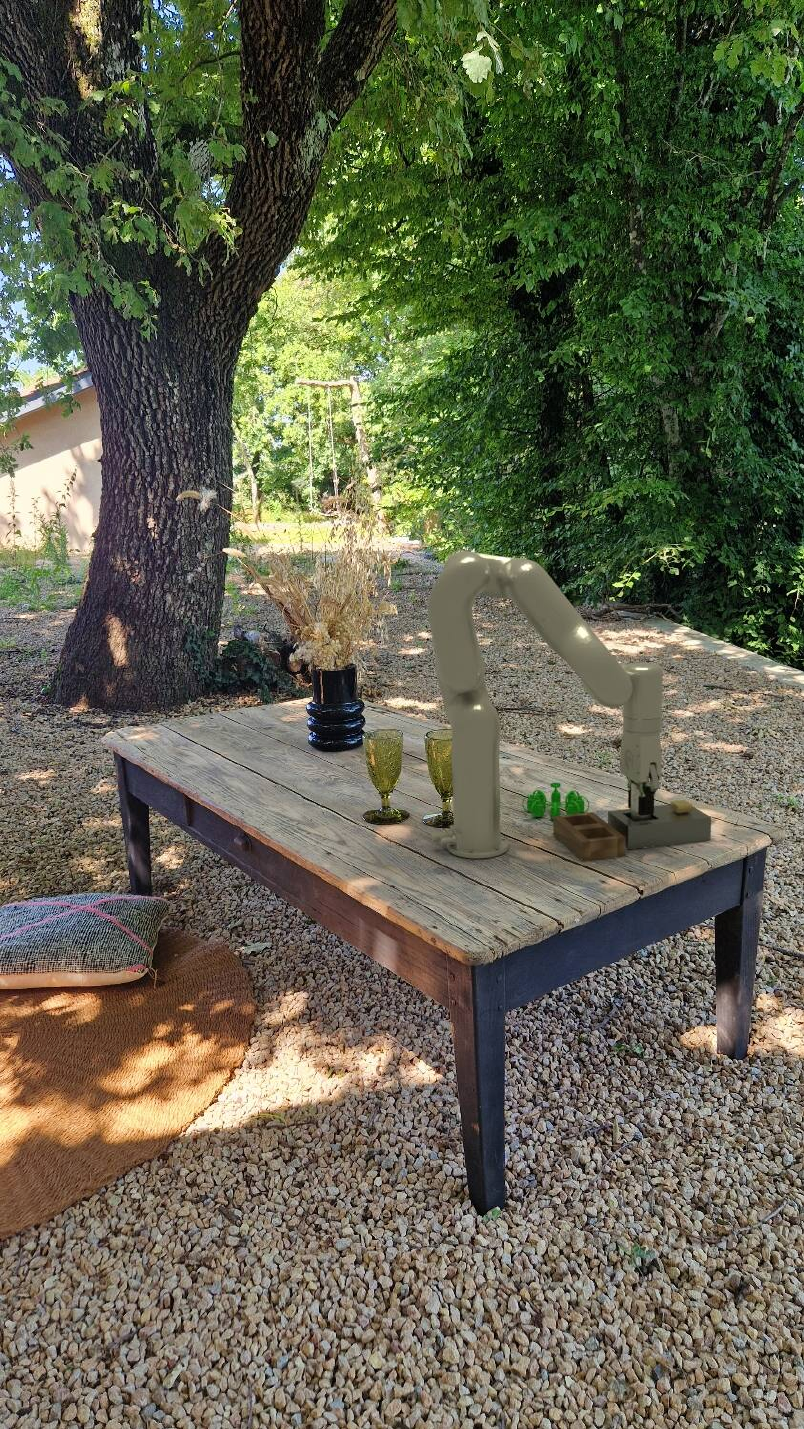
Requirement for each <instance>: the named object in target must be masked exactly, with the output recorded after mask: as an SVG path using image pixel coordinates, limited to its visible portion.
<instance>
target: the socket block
mask: <svg viewBox="0 0 804 1429" xmlns="http://www.w3.org/2000/svg"><path fill="white" fill-rule="evenodd" d="M607 823H608V824H609V825H610V826H612V827H613V828H614V829H615V830H617V831H618V832H619V833H621V834H622V835H623V836H624V837H626V839H625V847H626V848H627V849H628V850H627V849H626V848H625V849H626V850H627V851H630V850H629V849H634V850H637V849H636V848H642V849H645V848H644V847H651V848H653V847H652V846H660V847H667V846H675V845H676V846H677V845H685V844H692V843H693V844H694V843H701V842H710V841H711V836H712V835H711V834H712V817H711V816H710V815H708V814H707V813H705V812H703V811H701V810H700V809H698V808H696V807H695V806H693V805H692V812H687V813H685V814H678V813H676V812H675V811H673V810H672V809H670V804H662V805H661V804H660V805H654V814H652V815H651V820H647V821H638V822H633V821H632V820H631V808H626V809H617V810H614V809H613V810H607Z"/></svg>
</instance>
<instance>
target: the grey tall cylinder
mask: <svg viewBox="0 0 804 1429" xmlns="http://www.w3.org/2000/svg"><path fill="white" fill-rule="evenodd" d="M649 785H650V784H647V785H645V789H646V787H647V786H649ZM638 796H641V795H640V784H638V783H636V782H632V783H631V808H630V809H631V820H632V821H633V822H638V821H647V820H651V815H643V816H640V815H639V814H638Z"/></svg>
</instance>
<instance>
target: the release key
mask: <svg viewBox="0 0 804 1429" xmlns="http://www.w3.org/2000/svg"><path fill="white" fill-rule="evenodd" d="M669 805H670V809H672V810H673V811H675V812H676V813H678V814H685V813H687V812H692V806H693V804H692V803H690V802H689V801H688V800H686V799H683V800H673V801H670V803H669Z"/></svg>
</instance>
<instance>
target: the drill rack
mask: <svg viewBox="0 0 804 1429" xmlns="http://www.w3.org/2000/svg"><path fill="white" fill-rule="evenodd" d="M552 820H553V821H552V824H553V825H552V828H553V829H552V830H553V832H552V833H553V836H555V838H557V839H558V840H559V841H560V842H561V843H562V844H563V845H564V846H565V847H566V849H569V851H570V852H572V853H573V854H574V856H576V858H578V860H580V861H581V862H583V863H584V862H589V861H590V862H591V861H599V860H607V859H613V858H614V859H615V857H617V858H623V857H622V856H625V857H626V848H625V839H626V837H624V836H623V835H622V834H621V833H619V832H618V831H617V830H615V829H614V828H613V827H612V826H610V825H609V824H608V822H606V820H604V819H603V818H602V817H600V816H599V815H598V814H596V812H594V811H591V812H585V813H582V812H580V814H572V815H567V814H564V815H560V816H553V819H552Z"/></svg>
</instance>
